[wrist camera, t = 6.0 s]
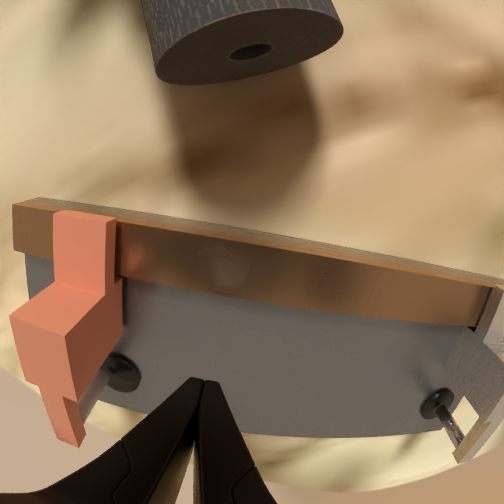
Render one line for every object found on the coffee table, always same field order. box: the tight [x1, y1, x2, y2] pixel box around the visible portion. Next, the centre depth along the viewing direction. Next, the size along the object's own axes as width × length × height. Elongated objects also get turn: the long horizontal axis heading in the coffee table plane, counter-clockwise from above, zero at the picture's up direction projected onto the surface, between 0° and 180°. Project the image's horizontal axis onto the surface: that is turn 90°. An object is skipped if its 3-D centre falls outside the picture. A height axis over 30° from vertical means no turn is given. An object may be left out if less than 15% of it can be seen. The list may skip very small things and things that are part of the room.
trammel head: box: [9, 210, 123, 448], centre depth 9 cm, size 2×8×4 cm, turn 170°
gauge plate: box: [12, 197, 504, 464], centre depth 11 cm, size 24×10×6 cm, turn 80°
